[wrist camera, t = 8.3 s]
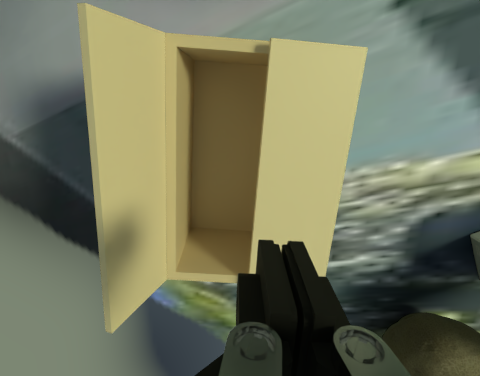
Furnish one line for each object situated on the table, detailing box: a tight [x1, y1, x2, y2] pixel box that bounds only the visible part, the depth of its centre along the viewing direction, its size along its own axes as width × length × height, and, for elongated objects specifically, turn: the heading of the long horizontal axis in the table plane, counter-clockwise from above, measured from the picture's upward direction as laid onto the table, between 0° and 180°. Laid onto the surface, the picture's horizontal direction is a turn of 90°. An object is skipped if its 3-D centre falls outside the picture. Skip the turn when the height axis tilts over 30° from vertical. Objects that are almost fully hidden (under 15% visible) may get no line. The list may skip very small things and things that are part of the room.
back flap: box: [248, 38, 368, 277], centre depth 23 cm, size 20×7×1 cm, turn 176°
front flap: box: [77, 3, 167, 333], centre depth 20 cm, size 20×7×1 cm
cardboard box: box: [165, 33, 270, 283], centre depth 28 cm, size 20×14×10 cm
